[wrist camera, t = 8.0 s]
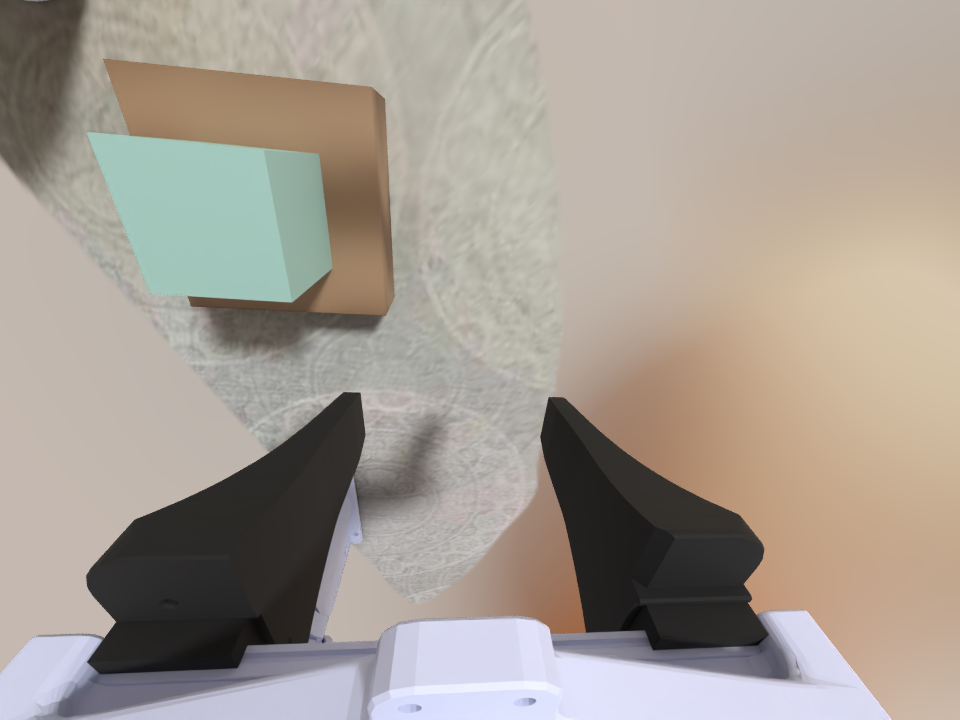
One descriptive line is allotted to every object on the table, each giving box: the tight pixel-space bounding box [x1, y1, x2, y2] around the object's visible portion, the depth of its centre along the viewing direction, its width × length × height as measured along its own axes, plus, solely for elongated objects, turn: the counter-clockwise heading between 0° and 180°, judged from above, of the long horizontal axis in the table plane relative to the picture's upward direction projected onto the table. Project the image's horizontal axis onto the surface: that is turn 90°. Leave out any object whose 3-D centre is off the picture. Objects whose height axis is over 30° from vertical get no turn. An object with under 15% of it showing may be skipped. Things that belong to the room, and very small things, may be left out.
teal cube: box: [86, 132, 333, 303], centre depth 14 cm, size 5×5×5 cm
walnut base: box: [103, 59, 394, 316], centre depth 17 cm, size 10×10×3 cm
